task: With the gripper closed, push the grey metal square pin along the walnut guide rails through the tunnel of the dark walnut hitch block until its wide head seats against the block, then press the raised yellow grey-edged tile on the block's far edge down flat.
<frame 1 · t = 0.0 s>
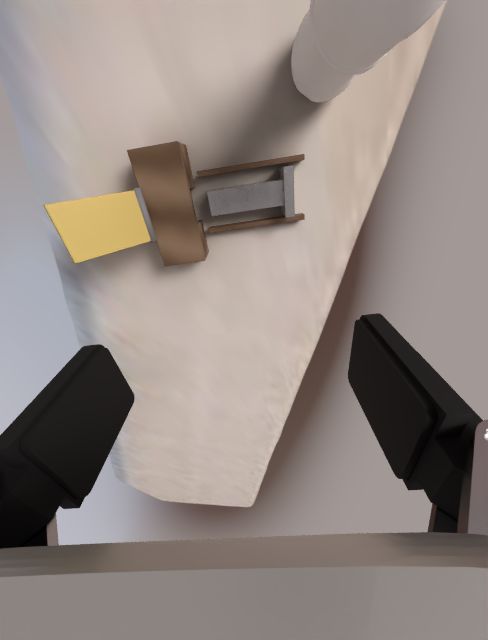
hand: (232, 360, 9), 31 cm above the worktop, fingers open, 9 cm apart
hitch block: (178, 207, 35), on the worktop
yellow grey-edged tile: (108, 224, 28), point 9 cm above the worktop, hinge at 45.0°
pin: (245, 196, 34), on the worktop
water bottle: (318, 66, 27), on the worktop
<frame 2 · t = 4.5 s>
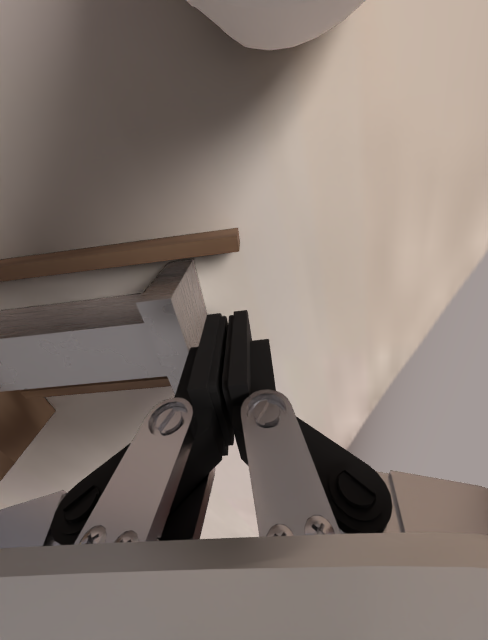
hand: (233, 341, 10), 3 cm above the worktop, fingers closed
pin: (97, 324, 13), on the worktop, touching gripper
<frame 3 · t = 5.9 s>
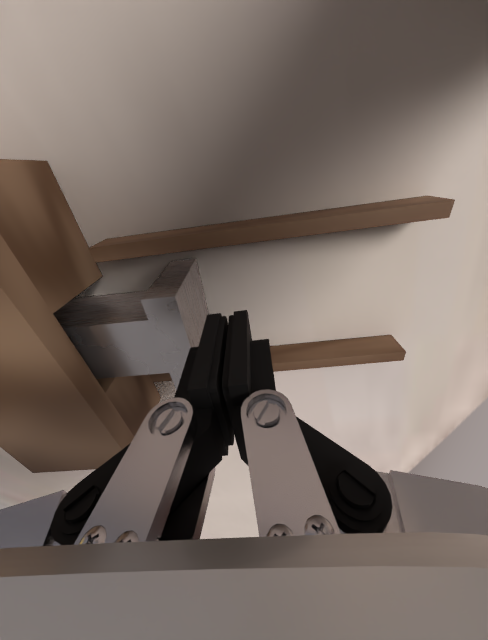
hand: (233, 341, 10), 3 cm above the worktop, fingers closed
hitch block: (69, 319, 13), on the worktop
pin: (99, 320, 13), on the worktop, touching gripper
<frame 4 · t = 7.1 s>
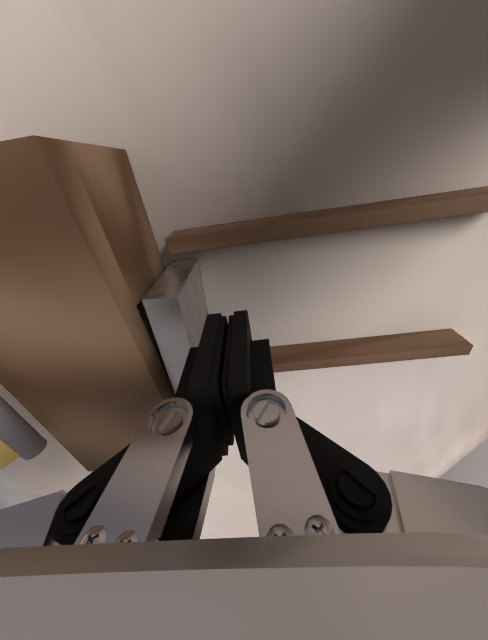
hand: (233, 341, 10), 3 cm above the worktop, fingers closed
hitch block: (124, 314, 13), on the worktop
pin: (96, 318, 13), on the worktop, touching gripper
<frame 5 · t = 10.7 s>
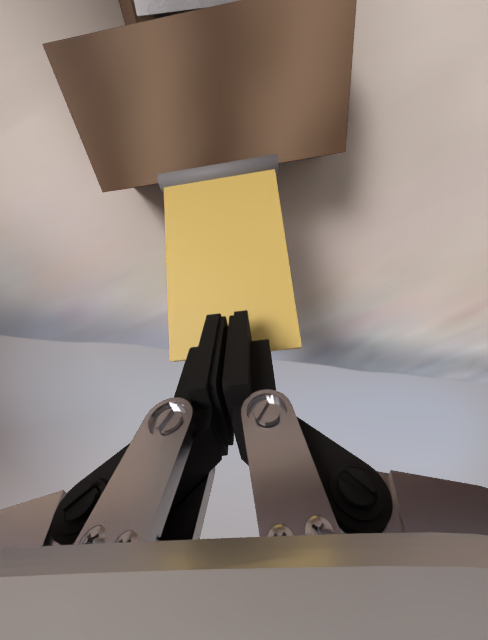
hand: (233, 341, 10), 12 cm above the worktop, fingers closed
hitch block: (216, 119, 16), on the worktop
yellow grey-edged tile: (225, 252, 12), point 9 cm above the worktop, hinge at 43.9°, touching gripper
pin: (221, 150, 17), on the worktop
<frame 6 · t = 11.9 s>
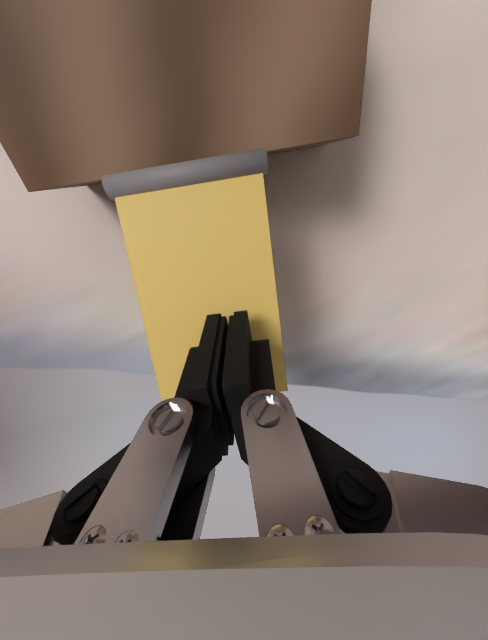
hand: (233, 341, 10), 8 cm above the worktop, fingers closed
hitch block: (187, 96, 12), on the worktop
yellow grey-edged tile: (206, 290, 10), point 7 cm above the worktop, hinge at 21.1°, touching gripper
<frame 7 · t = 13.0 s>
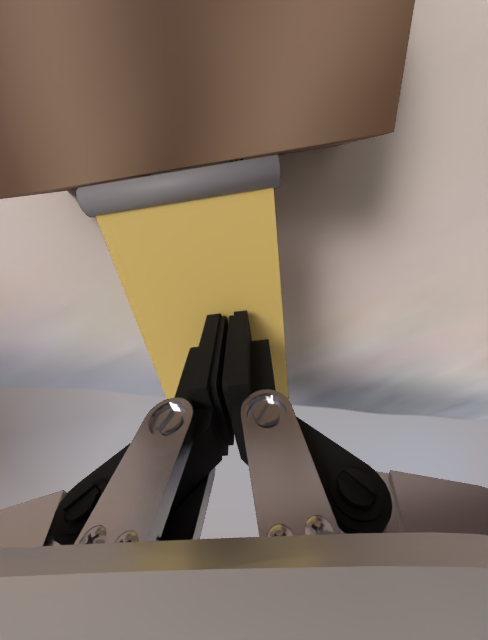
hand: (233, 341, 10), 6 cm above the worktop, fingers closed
hitch block: (182, 86, 10), on the worktop
yellow grey-edged tile: (209, 313, 10), point 6 cm above the worktop, hinge at 5.8°, touching gripper
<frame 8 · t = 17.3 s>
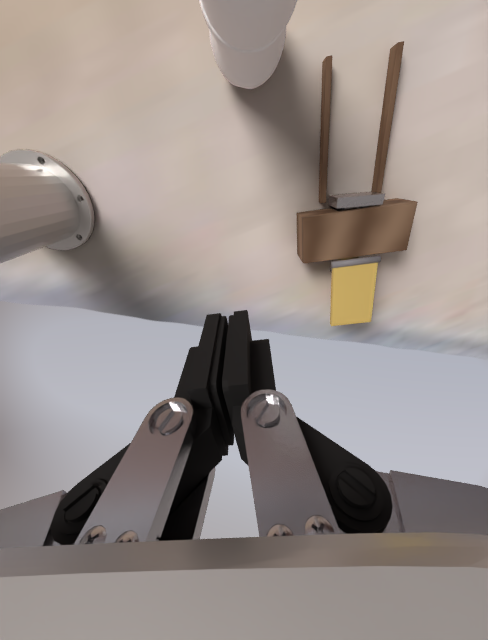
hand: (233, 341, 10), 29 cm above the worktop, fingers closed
hitch block: (344, 227, 35), on the worktop
yellow grey-edged tile: (352, 293, 35), point 6 cm above the worktop, hinge at 5.4°
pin: (343, 238, 36), on the worktop
water bottle: (247, 51, 26), on the worktop
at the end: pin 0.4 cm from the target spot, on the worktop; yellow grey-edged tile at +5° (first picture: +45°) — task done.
